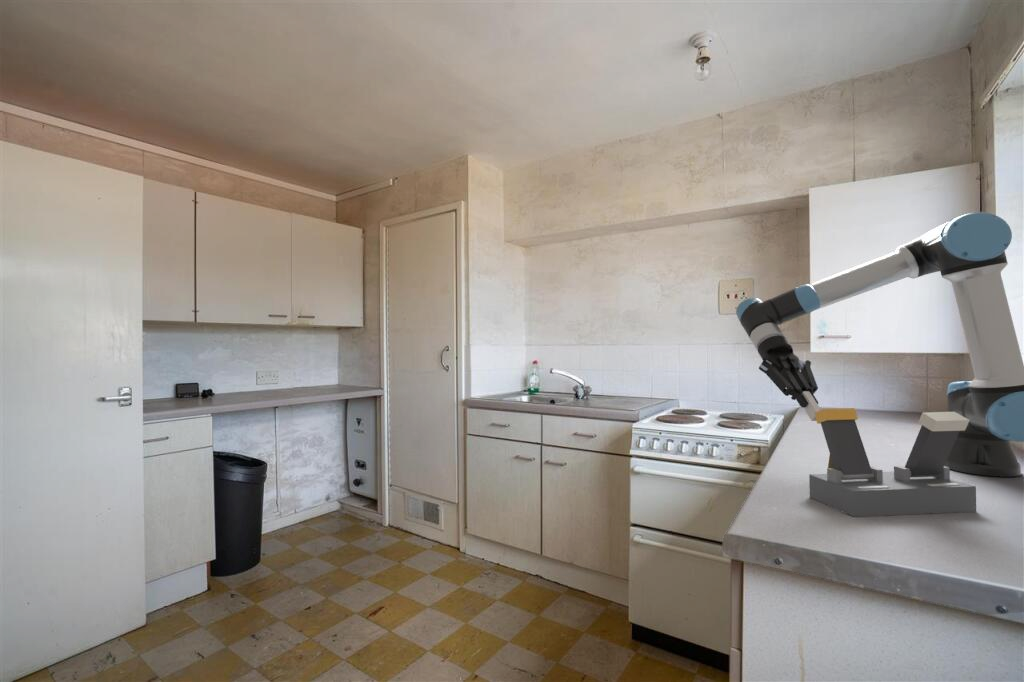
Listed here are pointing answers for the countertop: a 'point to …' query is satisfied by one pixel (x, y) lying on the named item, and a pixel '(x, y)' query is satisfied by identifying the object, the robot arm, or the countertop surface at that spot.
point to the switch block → (893, 493)
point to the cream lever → (934, 442)
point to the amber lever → (845, 443)
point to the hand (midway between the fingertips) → (817, 417)
